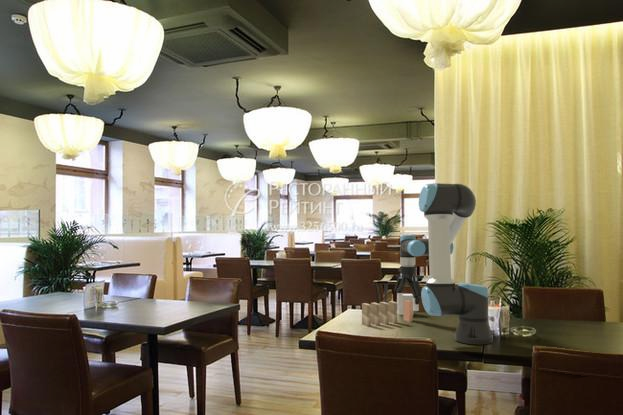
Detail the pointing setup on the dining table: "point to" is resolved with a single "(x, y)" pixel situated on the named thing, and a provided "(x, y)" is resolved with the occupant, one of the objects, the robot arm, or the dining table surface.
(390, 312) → the domino
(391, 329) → the dining table surface
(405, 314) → the domino
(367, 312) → the domino
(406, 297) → the small box
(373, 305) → the domino
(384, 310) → the domino
